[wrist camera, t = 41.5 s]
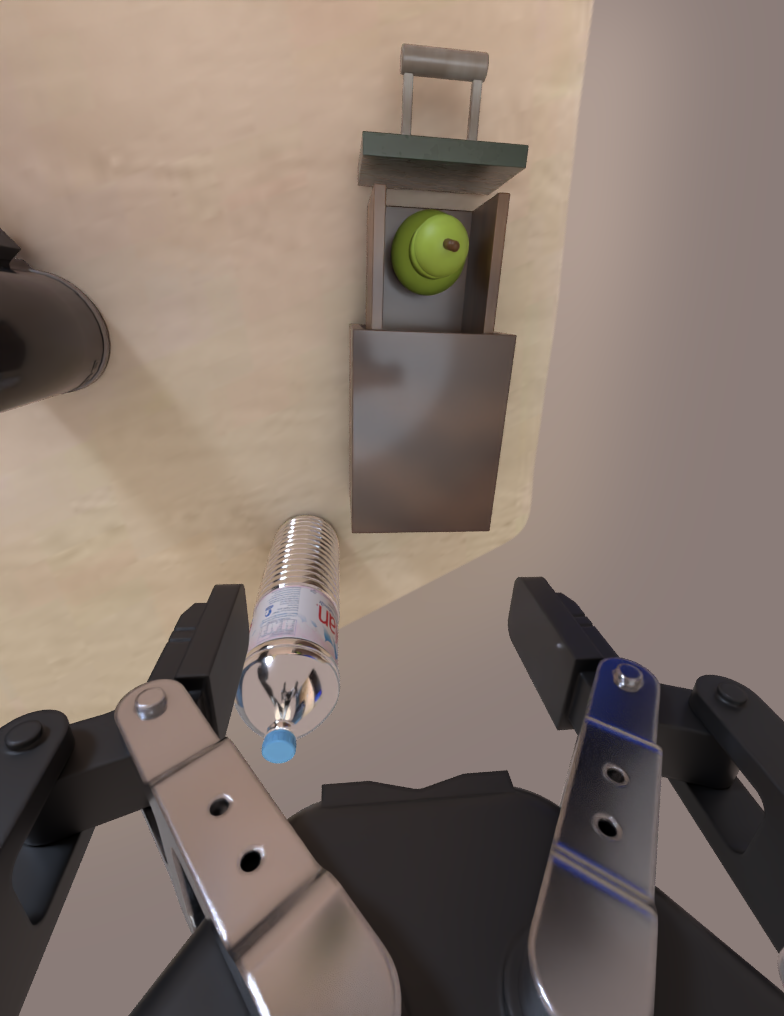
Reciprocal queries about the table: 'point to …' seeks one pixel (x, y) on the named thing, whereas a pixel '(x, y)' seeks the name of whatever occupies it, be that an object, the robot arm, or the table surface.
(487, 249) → the drawer
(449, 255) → the pear
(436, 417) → the cabinet
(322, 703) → the water bottle
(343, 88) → the table surface
